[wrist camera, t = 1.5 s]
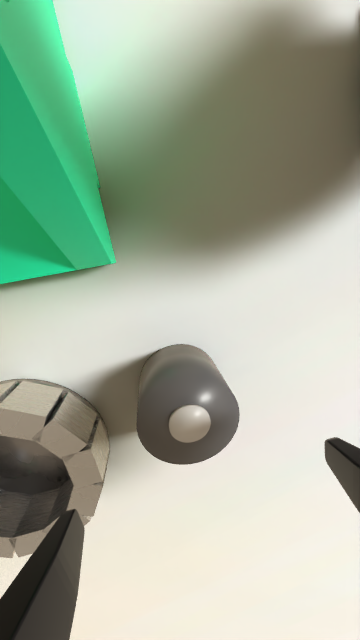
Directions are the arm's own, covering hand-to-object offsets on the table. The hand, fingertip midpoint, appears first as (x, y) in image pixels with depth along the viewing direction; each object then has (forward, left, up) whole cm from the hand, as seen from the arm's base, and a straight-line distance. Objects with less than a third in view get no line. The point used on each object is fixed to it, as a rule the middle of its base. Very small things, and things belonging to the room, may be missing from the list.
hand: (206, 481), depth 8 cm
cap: (0, 0, -7) cm, 7 cm away
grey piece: (+10, +2, -7) cm, 13 cm away
